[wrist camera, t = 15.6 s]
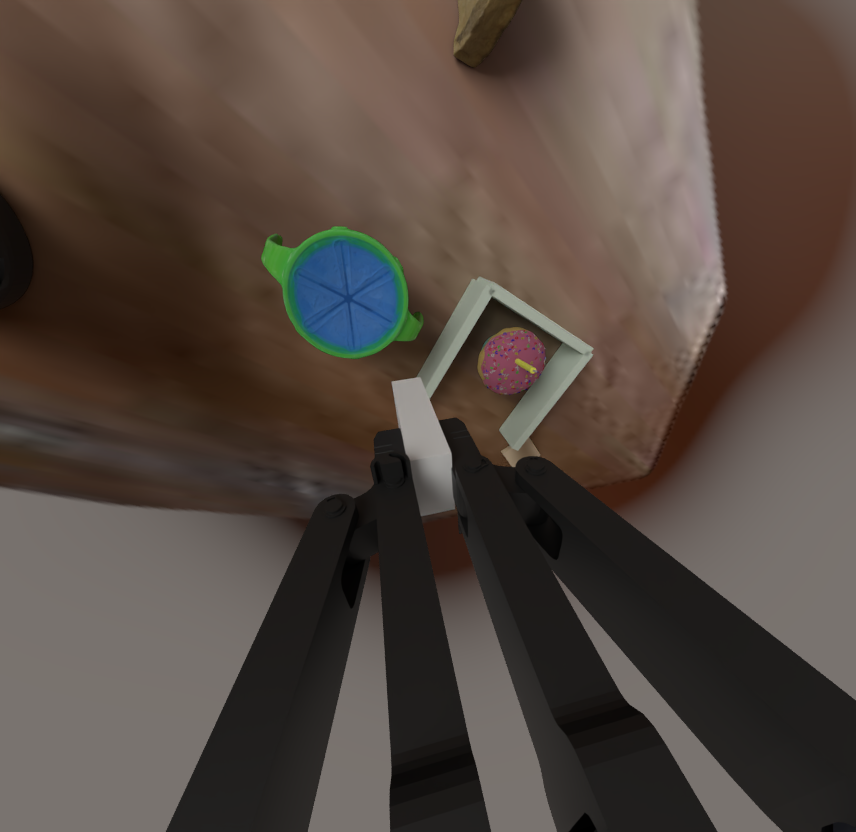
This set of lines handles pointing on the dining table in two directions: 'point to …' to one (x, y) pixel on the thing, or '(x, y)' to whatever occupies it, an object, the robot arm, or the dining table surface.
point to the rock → (481, 27)
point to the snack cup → (343, 292)
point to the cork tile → (520, 452)
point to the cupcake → (511, 360)
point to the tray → (541, 392)
